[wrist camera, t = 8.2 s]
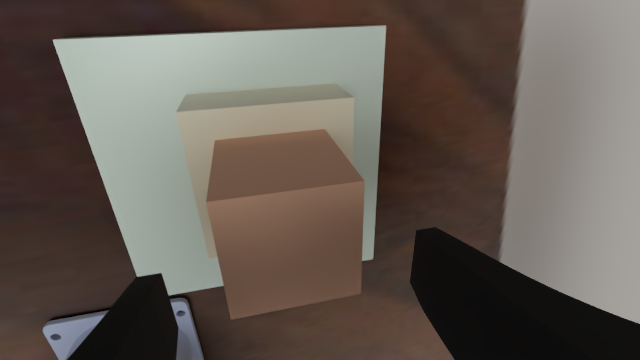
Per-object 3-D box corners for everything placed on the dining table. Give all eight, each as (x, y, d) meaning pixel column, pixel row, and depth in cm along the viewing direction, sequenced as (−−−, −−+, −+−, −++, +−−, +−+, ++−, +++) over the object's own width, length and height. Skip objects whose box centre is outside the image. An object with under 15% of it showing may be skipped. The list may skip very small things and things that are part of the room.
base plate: (367, 249, 23) (391, 292, 20) (149, 287, 21) (131, 343, 17) (378, 24, 17) (416, 28, 13) (63, 37, 14) (8, 46, 11)
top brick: (326, 218, 16) (360, 293, 12) (231, 232, 16) (231, 319, 11) (324, 128, 14) (364, 181, 10) (214, 140, 13) (206, 201, 9)
